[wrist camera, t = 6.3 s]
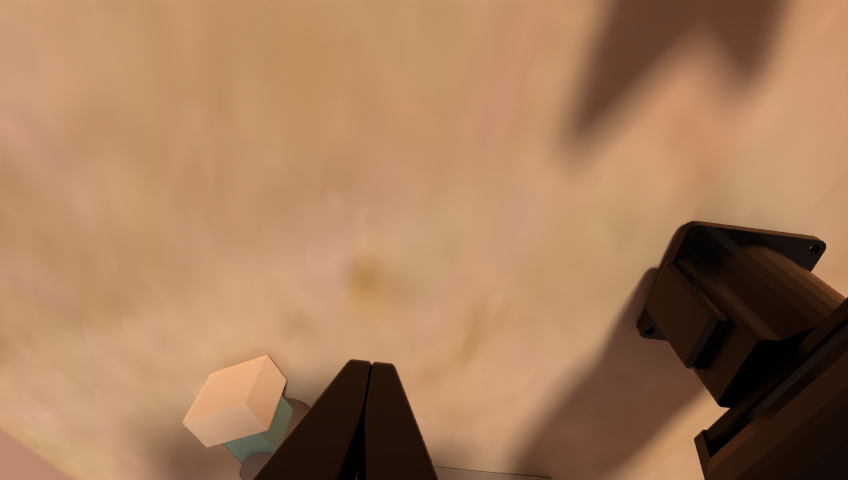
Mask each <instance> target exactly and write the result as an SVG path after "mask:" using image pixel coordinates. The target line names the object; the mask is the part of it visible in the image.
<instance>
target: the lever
mask: <svg viewBox="0 0 848 480" xmlns="http://www.w3.org/2000/svg"><path fill="white" fill-rule="evenodd" d="M286 381H287V380H286V379H285V377H284V376H283V375H282V373H281V372H280V371H279V370H278V368H277V367H276V366H275V364H274V363H273V362H272V360H271V359H270V358H269V357H268V355H265V356H262V357H259V358H256V359H253V360H250V361H246V362H243V363H240V364H237V365H234V366H231V367H228V368H225V369H222V370H219V371H216V372H213V373H210V375H209V377H208V379H207V380H206V382H205V384H204V385H203V387H202V389H201V391H200V392H199V394H198V396H197V398H196V399H195V401H194V403H193V404H192V406H191V408H190V410H189V411H188V413H187V415H186V417H185V418H184V420H183V422H182V423H183V424H184V425H185V426H186V427H187V428H188V429H189V430H190V431H191V432H192V433H193V434H194V435H195V436H196V437H197V438H198V439H199V440H200V441H201V442H202V443H203V444H204V445H205V446H206V447H207V448H208V447H211V446H215V445H218V444H222V443H223V444H224V446H225V447H226V448H227V449H228V450H229V451H230V452H231V453H232V454H233V455H234V456H235V457H236V458H237V459H238V460H239V461H240V462H241V463H242V466H241V468H240V476H241V478H242V480H252V479H253V478H254V477H255V475H256V474H257V473H258V472H259V471H260V469H261V468H262V467H263V466H264V464H265V463H266V462H267V461H268V459H269V458H270V457H271V456H272V454H273V453H274V452H275V451H276V450H277V448H278V447H279V446H280V445H281V443H282V442H283V441H284V440H285V438H286V437H287V436H288V435H289V434H290V432H291V431H292V430H293V429H294V427H295V426H296V425H297V424H298V422H299V421H300V420H301V419H302V418H303V416H304V415H305V414H306V413H307V411H308V410H309V409H310V408H309V407H308V406H307V405H306V404H305V403H303V402H301V401H298V400H295V399H291V398H284V397H283V396H282V395H281V394H282V392H283V389H284V386H285V383H286Z"/></svg>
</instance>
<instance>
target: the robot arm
mask: <svg viewBox="0 0 848 480" xmlns="http://www.w3.org/2000/svg"><path fill="white" fill-rule="evenodd" d="M696 230H698V232H697V233H696V234H695V235H693V236H691V234H692V233H693V232H694V231H696ZM812 246H813V247H812ZM810 247H812V248H811V249H809V248H810ZM808 249H809V250H808ZM825 249H826V244H825V243H824V242H823V241H822V240H820V239H819V238H817V237H814V236H808V235H801V234H793V233H785V232H778V231H770V230H762V229H754V228H747V227H739V226H731V225H724V224H716V223H708V222H701V221H692V222H689V223H687V224H686V225H684V226H683V228H682V229H681V231H680V233H679V236H678V238H677V240H676V242H675V244H674V246H673V248H672V251H671V253H670V255H669V257H668V259H667V261H666V263H665V264H664V265H663V267H662V269H661V272H660V274H659V276H658V278H657V280H656V282H655V284H654V287H653V289H652V291H651V293H650V295H649V297H648V299H647V302H646V304H645V308H644V311H643V313H642V315H641V317H640V319H639V321H638V323H637V327H636V328H637V330H638V332H639V334H640V335H641V336H642V337H644V338H648V339H657V340H666V341H668V342H669V343H670V345H671V346H672V348H673V349H674V351H675V352H676V354H677V355H678V356H679V358H680V359H681V361H682V362H683V364H684V365H685V367H687V368H689V369H693V370H694V371H695V372H696V374H697V375H698V377H699V378H700V380H701V381H702V382H703V384H704V385H705V387H706V388H707V390H708V391H709V392H710V394H711V395H712V397H713V398H714V400H715V401H716V402H717V404H718V405H719V406H720V407H726V408H730V409H729V410H728V411H727V412H725V413H724V414H723V415H722V416H721V417H720V418H719V419H718V420H717V421H716V422H715V423H714V424H713V425H712V426H711V427H710V428H708V429H707V430H702V431H701V432H700V433H699V434H698V435H697V436H696V437H695V438H694V442H695V445H696V449H697V453H698V456H699V460H700V464H701V467H702V471H703V475H704V478H705V480H848V297H847V298H845V297H844V296H842V295H841V294H840V293H838V292H837V291H836V290H834V289H833V288H831V287H830V286H829V285H827V284H826V283H825V282H823V281H822V280H821V279H819V278H818V277H816V276H815V275H814V274H812V273H811V271H812V270H813V268H814V267H815V265H816V264H817V262H818V261H819V259H820V257H821V256H822V254H823V253H824V251H825ZM648 327H650V328H649V329H646V328H648ZM357 472H358V474H357ZM356 477H357V480H439V478H438V476H437V473H436V471H435V468H434V466H433V463H432V460H431V458H430V455H429V453H428V450H427V448H426V445H425V442H424V440H423V437H422V435H421V432H420V430H419V427H418V424H417V422H416V419H415V417H414V414H413V412H412V409H411V406H410V404H409V401H408V399H407V396H406V393H405V391H404V388H403V386H402V383H401V381H400V378H399V375H398V373H397V370H396V368H395V366H394V365H393V364H391V363H383V362H374V363H373V364H372V366H371V362H369V361H364V360H355V359H351V360H349V361H348V362H347V363H346V365H345V366H344V367H343V368H342V369H341V371H340V372H339V373H338V374H337V376H336V377H335V378H334V379H333V381H332V382H331V383H330V384H329V385H328V387H327V388H326V389H325V390H324V392H323V393H322V394H321V395H320V397H319V398H318V399H317V400H316V402H315V403H314V404H313V405H312V406H311V408H310V409H309V410H308V411H307V413H306V414H305V415H304V416H303V418H302V419H301V420H300V421H299V422H298V424H297V425H296V426H295V427H294V429H293V430H292V431H291V432H290V434H289V435H288V436H287V437H286V438H285V440H284V441H283V442H282V443H281V445H280V446H279V447H278V448H277V450H276V451H275V452H274V453H273V454H272V456H271V457H270V458H269V459H268V461H267V462H266V463H265V464H264V466H263V467H262V468H261V469H260V471H259V472H258V473H257V474H256V475H255V477H254V478H253V479H252V480H356Z"/></svg>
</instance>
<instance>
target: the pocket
mask: <svg viewBox="0 0 848 480" xmlns="http://www.w3.org/2000/svg"><path fill="white" fill-rule="evenodd" d="M434 468H435V471H436V473H437V476H438V478H439V480H552V479H551V478H544V477H534V476H523V475H513V474H502V473H492V472H481V471H471V470H460V469H450V468H440V467H434Z"/></svg>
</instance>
